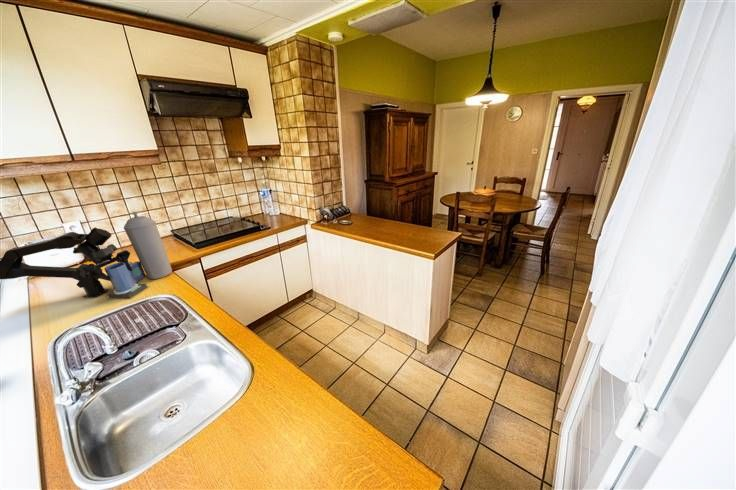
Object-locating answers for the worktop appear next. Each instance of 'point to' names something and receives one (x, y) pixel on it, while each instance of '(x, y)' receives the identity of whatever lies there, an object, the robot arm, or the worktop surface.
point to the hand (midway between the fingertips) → (121, 275)
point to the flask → (136, 271)
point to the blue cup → (120, 277)
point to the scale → (128, 292)
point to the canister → (148, 246)
